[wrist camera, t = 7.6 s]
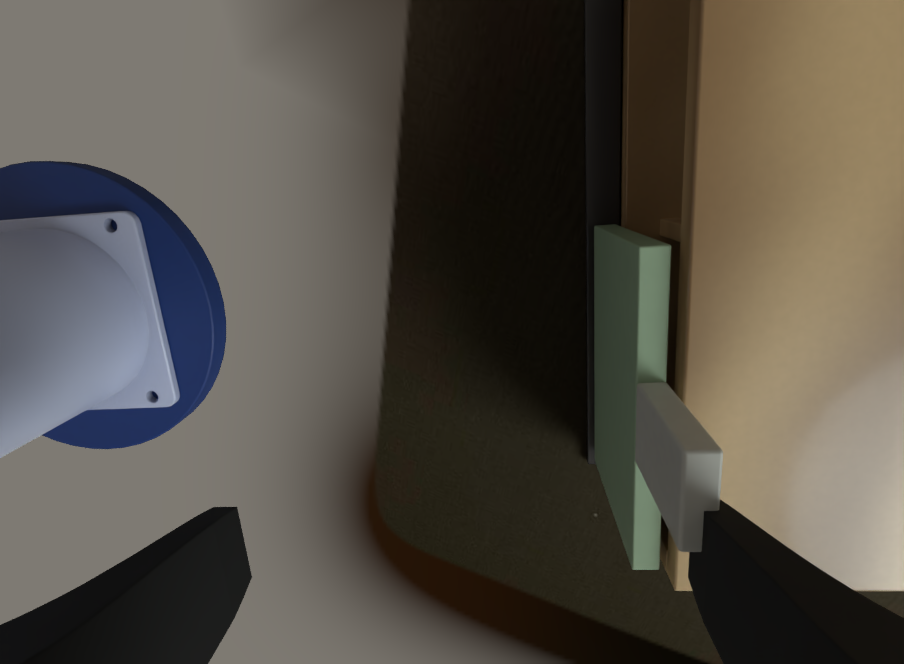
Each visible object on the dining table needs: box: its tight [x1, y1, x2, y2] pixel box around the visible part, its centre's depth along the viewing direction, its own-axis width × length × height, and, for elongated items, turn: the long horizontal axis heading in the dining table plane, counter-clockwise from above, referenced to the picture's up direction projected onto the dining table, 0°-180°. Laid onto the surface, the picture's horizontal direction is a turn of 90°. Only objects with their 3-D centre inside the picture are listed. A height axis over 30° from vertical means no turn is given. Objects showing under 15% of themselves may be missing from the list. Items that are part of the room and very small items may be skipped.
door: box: [594, 224, 723, 570], centre depth 16 cm, size 1×10×10 cm, turn 4°
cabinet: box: [584, 0, 904, 591], centre depth 16 cm, size 13×20×8 cm, turn 4°
